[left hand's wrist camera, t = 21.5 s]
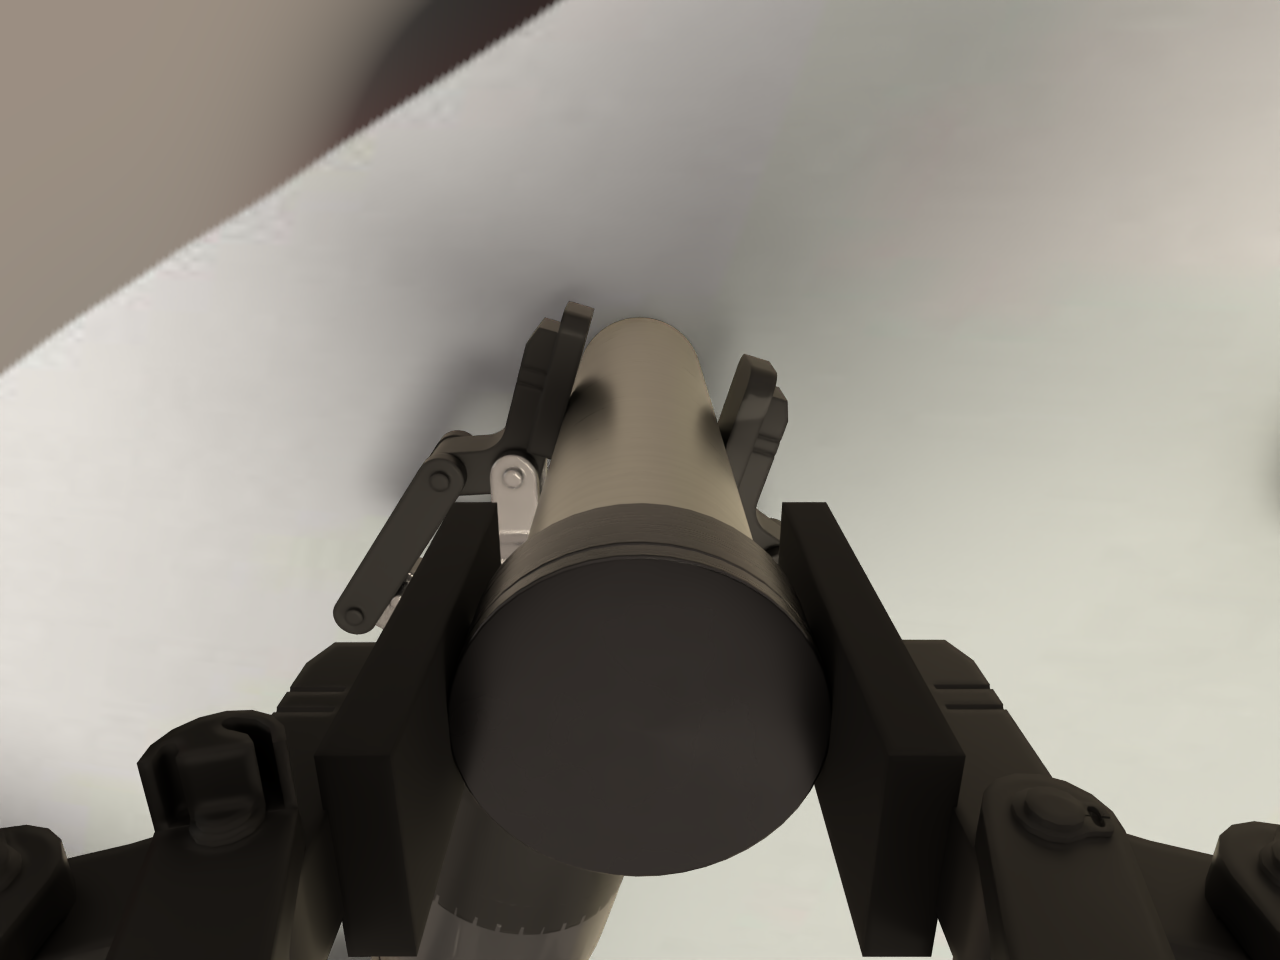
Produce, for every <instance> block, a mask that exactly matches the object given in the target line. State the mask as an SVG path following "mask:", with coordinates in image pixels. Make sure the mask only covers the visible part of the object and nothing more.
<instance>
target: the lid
mask: <svg viewBox="0 0 1280 960" xmlns="http://www.w3.org/2000/svg"><path fill="white" fill-rule="evenodd" d="M447 713H448V725H449V734H450V744H451V751H452V754H453V757H454V760H455V763H456V766H457V769H458V771H459V773H460V775H461V777H462V779H463V781H464V783H465V785H466V787H467V788H468V790H469V791H470V793H471V794H472V796H473V797H474V799H475V800H476V801H477V803H478V804H479V805H480V806H481V808H482V809H483V810H484V811H485V812H486V813H487V814H488V815H489V817H490V818H491V819H492V820H493V821H494V822H496V823H497V824H498V825H499V826H500V827H501V828H502V829H504V830H505V831H506V832H507V833H508V834H510V835H511V836H513V837H514V838H515V839H517V840H518V841H520V842H521V843H523V844H524V845H526V846H527V847H529V848H531V849H533V850H535V851H537V852H539V853H541V854H543V855H545V856H546V857H549V858H551V859H554V860H556V861H559V862H562V863H564V864H567V865H570V866H573V867H577V868H581V869H584V870H588V871H592V872H598V873H604V874H610V875H621V876H661V875H668V874H675V873H683V872H687V871H691V870H695V869H699V868H703V867H707V866H709V865H712V864H715V863H718V862H721V861H723V860H726V859H728V858H730V857H732V856H735V855H737V854H739V853H741V852H743V851H745V850H747V849H749V848H750V847H752V846H753V845H755V844H756V843H758V842H760V841H761V840H763V839H764V838H766V837H767V836H768V835H770V834H771V833H772V832H773V831H775V830H776V829H777V828H778V827H779V826H781V825H782V824H783V823H784V822H785V821H786V820H787V819H788V818H789V817H790V816H791V815H792V814H793V813H794V812H795V811H796V810H797V809H798V807H799V806H800V804H801V803H802V802H803V800H804V799H805V798H806V796H807V795H808V794H809V792H810V791H811V789H812V787H813V785H814V783H815V782H816V780H817V778H818V776H819V774H820V772H821V769H822V767H823V764H824V761H825V759H826V756H827V753H828V748H829V739H830V729H831V718H832V697H831V689H830V685H829V681H828V678H827V674H826V671H825V667H824V665H823V662H822V659H821V657H820V654H819V651H818V648H817V646H816V643H815V640H814V638H813V635H812V632H811V629H810V627H809V624H808V621H807V619H806V616H805V613H804V610H803V608H802V605H801V603H800V601H799V598H798V596H797V594H796V592H795V590H794V587H793V586H792V584H791V583H790V581H789V579H788V578H787V576H786V575H785V573H784V572H783V570H782V569H781V568H780V567H779V565H778V564H777V563H776V562H775V561H774V560H773V559H772V557H771V556H770V555H769V554H768V553H767V552H766V551H765V550H764V549H762V548H761V547H760V546H759V545H758V544H757V543H755V542H754V541H753V540H752V539H751V538H749V537H748V536H746V535H744V534H743V533H741V532H740V531H738V530H737V529H735V528H734V527H732V526H730V525H728V524H726V523H724V522H722V521H720V520H717V519H715V518H713V517H711V516H708V515H705V514H702V513H699V512H696V511H693V510H690V509H685V508H680V507H675V506H670V505H662V504H649V503H632V504H617V505H611V506H605V507H599V508H594V509H591V510H587V511H584V512H581V513H577V514H574V515H571V516H569V517H567V518H565V519H562V520H560V521H558V522H555V523H553V524H551V525H550V526H548V527H546V528H545V529H543V530H541V531H540V532H538V533H536V534H535V535H533V536H532V537H530V538H529V539H528V540H527V541H526V542H524V543H523V544H522V545H521V546H519V547H518V548H517V549H516V550H515V551H514V552H513V553H512V554H511V555H510V556H509V557H508V558H507V559H506V560H505V561H504V562H503V563H502V564H501V566H500V567H499V569H498V570H497V571H496V573H495V574H494V576H493V577H492V578H491V580H490V581H489V583H488V585H487V587H486V589H485V591H484V593H483V595H482V597H481V599H480V601H479V604H478V607H477V609H476V612H475V615H474V618H473V620H472V623H471V626H470V628H469V631H468V634H467V637H466V639H465V642H464V645H463V648H462V650H461V653H460V656H459V658H458V661H457V664H456V667H455V670H454V673H453V676H452V679H451V682H450V687H449V694H448V700H447Z"/></svg>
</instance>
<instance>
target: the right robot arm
mask: <svg viewBox="0 0 1280 960" xmlns="http://www.w3.org/2000/svg"><path fill="white" fill-rule="evenodd" d="M593 312H594V308H591V307H588V306H584V305H581V304H578V303H574V302H571V301H569V302H568V304H567V306H566V308H565V310H564V313H563V316H562V320H561V322H559V321H555V320H552V319H549V318H544V319H543V321H542V322H541V323H540V325H539V326H538V327H537V329H536V330H535V331H534V333H533V334H532V336H531V337H530V339H529V340H528V342H527V344H526V346H525V350H524V354H523V358H522V362H521V367H520V370H519V374H518V378H517V383H516V386H515V390H514V395H513V399H512V403H511V407H510V411H509V415H508V419H507V423H506V427H505V428H504V429H503V430H501V431H499V432H497V433H495V434H491V435H477V436H472V435H471V434H469V433H467V432H465V431H460V430H455V431H451V432H448V433H447V434H445V435H444V436H443V437H442V438H441V440H440V441H439V443H438V444H437V445H436V447H435V449H434V450H433V452H432V453H431V455H430V457H429V458H427V459H426V460H425V462H424V463H423V465H422V466H421V467H420V469H419V470H418V472H417V474H416V475H415V477H414V478H413V480H412V482H411V483H410V485H409V486H408V488H407V490H406V491H405V493H404V495H403V496H402V498H401V499H400V501H399V503H398V504H397V506H396V507H395V509H394V511H393V512H392V514H391V516H390V517H389V519H388V520H387V522H386V524H385V525H384V527H383V528H382V530H381V532H380V533H379V535H378V537H377V538H376V540H375V541H374V543H373V545H372V546H371V548H370V549H369V551H368V553H367V554H366V556H365V558H364V559H363V561H362V562H361V564H360V566H359V567H358V569H357V570H356V572H355V574H354V575H353V577H352V579H351V580H350V582H349V583H348V585H347V587H346V588H345V590H344V591H343V593H342V595H341V596H340V598H339V600H338V601H337V603H336V604H335V606H334V609H333V616H334V620H335V622H336V623H337V625H338V626H339V627H340V628H341V629H343V630H344V631H346V632H348V633H352V634H364V633H367V632H369V631H371V630H372V629H373V628H374V626H375V625H377V626H378V627H380V628H382V629H384V627H385V625H386V624H387V622H388V620H389V618H390V616H391V615H392V613H393V611H394V609H395V607H396V605H397V604H398V602H399V600H400V598H401V596H402V595H403V593H404V591H405V589H406V587H407V586H408V584H409V582H410V580H411V578H412V576H413V575H414V573H415V571H416V569H417V567H418V566H419V564H420V562H421V560H422V558H421V557H420V555H421V554H422V552H423V551H424V549H425V547H426V546H427V544H428V543H429V541H430V540H431V538H432V537H433V535H434V534H435V532H436V530H437V529H438V527H439V526H440V524H441V523H442V521H443V520H444V518H445V516H446V515H447V513H448V511H449V509H450V508H451V506H452V504H453V502H455V501H456V499H457V498H458V496H462V495H480V494H491V502H497V507H498V522H499V537H500V552H501V564H502V563H503V562H504V561H505V560H506V559H507V558H508V557H509V556H510V555H511V554H512V553H513V552H514V551H515V550H516V549H517V548H518V547H519V546H521V545H522V544H523V543H524V542H526V541H527V538H528V535H529V531H530V528H531V525H532V522H533V518H534V515H535V512H536V508H537V505H538V502H539V498H540V495H541V492H542V488H543V485H544V482H545V478H546V475H547V472H548V469H547V458H548V459H552V455H553V452H554V449H555V445H556V442H557V439H558V435H559V432H560V429H561V425H562V422H563V420H564V416H565V413H566V410H567V406H568V403H569V400H570V396H571V393H572V389H573V385H574V382H575V378H576V374H577V371H578V367H579V363H580V360H581V356H582V352H583V349H584V345H585V342H586V338H587V334H588V331H589V327H590V323H591V320H592V316H593ZM776 382H777V373H776V371H775V369H774V368H773V366H772V365H771V363H770V362H769V361H766V360H763V359H760V358H756V357H753V356H750V355H746V354H744V355H743V356H742V357H741V359H740V361H739V364H738V366H737V369H736V372H735V375H734V378H733V381H732V384H731V386H730V389H729V392H728V395H727V398H726V401H725V404H724V407H723V410H722V412H721V415H720V418H719V421H718V426H719V430H720V433H721V436H722V440H723V443H724V446H725V450H726V453H727V456H728V460H729V463H730V466H731V469H732V473H733V476H734V479H735V483H736V486H737V489H738V493H739V496H740V499H741V503H742V506H743V509H744V512H745V516H746V519H747V522H748V526H749V529H750V532H751V536H752V539H753V541H754V542H755V543H757V544H758V545H759V546H760V547H761V548H762V549H764V550H765V551H766V552H767V553H768V554H769V555H770V556H771V557H772V559H773V560H774V561H775V562H776V563H777V564H778V560H779V545H780V530H781V521H780V520H777V519H774V518H768V517H767V516H766V515H764V514H763V513H761V512H760V511H759V510H758V509H756V506H757V502H758V499H759V497H760V494H761V492H762V489H763V486H764V484H765V481H766V478H767V476H768V473H769V470H770V468H771V465H772V462H773V460H774V456H775V455H776V452H777V449H778V447H779V443H780V440H781V439H782V436H783V433H784V431H785V428H786V425H787V423H788V402H787V399H786V398H785V396H784V395H783V393H782V391H781V390H780V388H779V387H777V386H776ZM623 877H624V876H621V875H610V874H604V873H598V872H592V871H588V870H584V869H581V868H577V867H573V866H570V865H567V864H564V863H562V862H559V861H556V860H554V859H551V858H549V857H546V856H545V855H543V854H541V853H539V852H537V851H535V850H533V849H531V848H529V847H527V846H526V845H524V844H523V843H521V842H520V841H518V840H517V839H515V838H514V837H513V836H511V835H510V834H508V833H507V832H506V831H505V830H504V829H502V828H501V827H500V826H499V825H498V824H497V823H496V822H494V821H493V820H492V819H491V818H490V817H489V815H488V814H487V813H486V812H485V811H484V810H483V809H482V808H481V806H480V805H479V804H478V803H477V801H476V800H475V799H474V797H473V796H472V794H471V793H470V791H469V790H468V788H467V787H466V785H465V787H464V791H463V794H462V798H461V801H460V805H459V808H458V812H457V815H456V819H455V823H454V826H453V830H452V833H451V837H450V840H449V844H448V847H447V851H446V855H445V858H444V862H443V865H442V869H441V872H440V876H439V879H438V883H437V887H436V890H435V894H434V897H433V901H432V904H431V908H430V911H429V915H428V919H427V922H426V926H425V929H424V933H423V936H422V940H421V943H420V947H419V951H418V954H417V957H371V960H588V959H589V958H590V956H591V954H592V952H593V951H594V949H595V947H596V945H597V943H598V941H599V938H600V936H601V934H602V931H603V929H604V926H605V924H606V921H607V919H608V916H609V914H610V911H611V908H612V906H613V903H614V901H615V898H616V895H617V893H618V890H619V887H620V884H621V882H622V879H623Z"/></svg>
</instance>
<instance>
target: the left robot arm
mask: <svg viewBox="0 0 1280 960" xmlns="http://www.w3.org/2000/svg"><path fill="white" fill-rule="evenodd" d="M778 565H779V567H780V568H781V569H782V570H783V572H784V573H785V575H786V576H787V578H788V579H789V581H790V583H791V584H792V586H793V587H794V590H795V592H796V594H797V596H798V598H799V601H800V603H801V605H802V608H803V610H804V613H805V616H806V619H807V621H808V624H809V627H810V629H811V632H812V635H813V638H814V640H815V643H816V646H817V648H818V651H819V654H820V657H821V659H822V662H823V665H824V667H825V671H826V674H827V678H828V681H829V685H830V689H831V697H832V718H831V729H830V739H829V748H828V753H827V756H826V759H825V761H824V764H823V767H822V769H821V772H820V774H819V776H818V778H817V780H816V782H815V783H814V785H815V789H816V792H817V796H818V799H819V803H820V807H821V810H822V814H823V817H824V821H825V824H826V828H827V831H828V835H829V839H830V842H831V846H832V849H833V853H834V856H835V860H836V863H837V867H838V871H839V874H840V878H841V881H842V885H843V888H844V892H845V895H846V899H847V903H848V906H849V910H850V913H851V917H852V920H853V924H854V927H855V931H856V935H857V938H858V942H859V945H860V949H861V952H862V956H863V957H931V955H932V949H933V943H934V937H935V932H936V926H937V920H939V922H940V925H941V927H942V930H943V932H944V935H945V937H946V940H947V942H948V945H949V947H950V950H951V953H952V955H953V960H1280V825H1278V824H1271V823H1263V822H1256V821H1253V822H1247V823H1240V824H1234V825H1231V826H1230V827H1229V828H1228V829H1227V830H1226V831H1224V832H1223V833H1222V834H1221V835H1220V836H1219V839H1218V842H1217V845H1216V848H1215V851H1214V855H1210V854H1206V853H1201V852H1197V851H1193V850H1188V849H1184V848H1180V847H1175V846H1171V845H1167V844H1162V843H1158V842H1154V841H1149V840H1146V839H1143V838H1139V837H1136V836H1133V835H1129V834H1126V831H1125V830H1124V828H1123V827H1122V825H1121V824H1120V822H1119V820H1118V819H1117V817H1116V816H1115V814H1114V813H1113V811H1111V810H1110V809H1109V808H1108V807H1107V806H1105V805H1104V804H1103V803H1102V802H1100V801H1099V800H1098V799H1097V798H1096V797H1094V796H1093V795H1092V794H1090V793H1088V792H1086V791H1084V790H1082V789H1080V788H1078V787H1076V786H1074V785H1072V784H1070V783H1068V782H1066V781H1063V780H1059V779H1055V778H1052V776H1051V775H1050V773H1049V772H1048V770H1047V769H1046V767H1045V766H1044V764H1043V763H1042V761H1041V760H1040V758H1039V757H1038V755H1037V754H1036V753H1035V751H1034V750H1033V748H1032V747H1031V745H1030V744H1029V742H1028V741H1027V739H1026V738H1025V736H1024V735H1023V733H1022V732H1021V730H1020V729H1019V727H1018V726H1017V724H1016V723H1015V721H1014V720H1013V718H1012V717H1011V715H1010V714H1009V712H1008V711H1007V710H1004V709H1003V704H1002V702H1001V701H1000V699H999V698H998V696H997V695H996V693H995V692H994V690H993V689H990V684H989V683H988V681H987V680H986V678H985V677H984V675H983V674H982V672H981V671H980V669H979V668H978V666H977V665H976V663H975V662H974V660H972V659H971V658H969V657H968V656H967V655H965V654H964V653H962V652H961V651H960V650H958V649H957V648H956V647H954V646H953V645H951V644H950V643H949V642H947V641H946V640H902V639H901V637H900V635H899V634H898V632H897V630H896V628H895V626H894V625H893V623H892V621H891V619H890V617H889V616H888V614H887V612H886V610H885V608H884V606H883V605H882V603H881V601H880V599H879V597H878V596H877V594H876V592H875V590H874V588H873V587H872V585H871V583H870V581H869V579H868V577H867V576H866V574H865V572H864V570H863V568H862V567H861V565H860V563H859V561H858V559H857V558H856V556H855V554H854V552H853V550H852V548H851V547H850V545H849V543H848V541H847V539H846V538H845V536H844V534H843V532H842V530H841V529H840V527H839V525H838V523H837V521H836V519H835V518H834V516H833V514H832V512H831V510H830V509H829V507H828V505H827V503H826V502H782V515H781V530H780V545H779V560H778ZM500 566H501V552H500V537H499V522H498V507H497V502H453V504H452V506H451V508H450V509H449V511H448V513H447V515H446V517H445V519H444V520H443V522H442V524H441V526H440V528H439V529H438V531H437V533H436V535H435V537H434V538H433V540H432V542H431V544H430V546H429V547H428V549H427V551H426V553H425V555H424V557H423V558H422V560H421V562H420V564H419V566H418V567H417V569H416V571H415V573H414V575H413V576H412V578H411V580H410V582H409V584H408V586H407V587H406V589H405V591H404V593H403V595H402V596H401V598H400V600H399V602H398V604H397V605H396V607H395V609H394V611H393V613H392V615H391V616H390V618H389V620H388V622H387V624H386V625H385V627H384V629H383V631H382V633H381V634H380V636H379V638H378V640H377V642H335V643H333V644H332V645H331V646H329V647H328V648H327V649H325V650H324V651H322V652H321V653H320V654H318V655H317V656H315V657H314V658H313V659H311V660H310V661H309V662H307V663H306V664H305V666H304V667H303V669H302V670H301V672H300V673H299V675H298V676H297V678H296V679H295V681H294V682H293V684H292V685H291V687H290V692H287V693H286V694H285V696H284V697H283V699H282V700H281V702H280V703H279V705H278V706H277V712H273V714H272V715H269V714H266V713H262V712H258V711H254V710H238V711H224V712H220V713H216V714H212V715H208V716H204V717H199V718H197V719H195V720H193V721H190V722H188V723H186V724H184V725H181V726H179V727H177V728H175V729H172V730H171V731H170V732H168V733H167V734H165V735H164V736H163V737H161V738H160V739H159V740H157V741H156V742H154V743H153V744H152V745H150V747H149V748H148V749H147V751H146V752H145V753H144V754H143V756H142V757H141V758H140V760H139V761H138V762H137V766H138V770H139V774H140V777H141V781H142V785H143V788H144V792H145V796H146V800H147V803H148V807H149V811H150V815H151V818H152V822H153V826H154V830H155V833H154V835H153V837H152V838H149V839H145V840H142V841H139V842H135V843H132V844H128V845H124V846H120V847H115V848H111V849H107V850H102V851H98V852H94V853H89V854H85V855H81V856H76V857H72V858H68V859H67V857H66V853H65V850H64V847H63V844H62V841H61V839H60V838H59V837H58V836H57V835H55V834H54V833H53V832H52V831H51V830H50V829H49V828H43V827H36V826H30V825H22V826H14V827H7V828H0V960H327V958H328V955H329V953H330V950H331V948H332V945H333V943H334V940H335V938H336V935H337V933H338V930H339V927H340V925H341V922H342V923H343V929H344V935H345V940H346V946H347V952H348V957H417V954H418V951H419V947H420V943H421V940H422V936H423V933H424V929H425V926H426V922H427V919H428V915H429V911H430V908H431V904H432V901H433V897H434V894H435V890H436V887H437V883H438V879H439V876H440V872H441V869H442V865H443V862H444V858H445V855H446V851H447V847H448V844H449V840H450V837H451V833H452V830H453V826H454V823H455V819H456V815H457V812H458V808H459V805H460V801H461V798H462V794H463V791H464V787H465V783H464V781H463V779H462V777H461V775H460V773H459V771H458V769H457V766H456V763H455V760H454V757H453V754H452V751H451V744H450V734H449V725H448V713H447V700H448V694H449V687H450V682H451V679H452V676H453V673H454V670H455V667H456V664H457V661H458V658H459V656H460V653H461V650H462V648H463V645H464V642H465V639H466V637H467V634H468V631H469V628H470V626H471V623H472V620H473V618H474V615H475V612H476V609H477V607H478V604H479V601H480V599H481V597H482V595H483V593H484V591H485V589H486V587H487V585H488V583H489V581H490V580H491V578H492V577H493V576H494V574H495V573H496V571H497V570H498V569H499V567H500Z"/></svg>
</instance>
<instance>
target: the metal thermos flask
mask: <svg viewBox="0 0 1280 960" xmlns="http://www.w3.org/2000/svg"><path fill="white" fill-rule="evenodd" d="M632 503H649V504H662V505H670V506H675V507H680V508H685V509H690V510H693V511H696V512H699V513H702V514H705V515H708V516H711V517H713V518H715V519H717V520H720V521H722V522H724V523H726V524H728V525H730V526H732V527H734V528H735V529H737V530H738V531H740V532H741V533H743V534H744V535H746V536H748V537H749V538H751V539H752V536H751V532H750V529H749V526H748V522H747V519H746V516H745V512H744V509H743V506H742V503H741V499H740V496H739V493H738V489H737V486H736V483H735V479H734V476H733V473H732V469H731V466H730V463H729V460H728V456H727V453H726V450H725V446H724V443H723V440H722V436H721V433H720V430H719V426H718V423H717V420H716V416H715V413H714V410H713V407H712V403H711V400H710V397H709V393H708V390H707V387H706V383H705V380H704V377H703V373H702V370H701V367H700V364H699V360H698V357H697V355H696V353H695V351H694V349H693V347H692V345H691V344H690V342H689V341H688V340H687V339H686V338H685V337H684V335H683V334H681V333H680V332H679V331H678V330H677V329H675V328H674V327H672V326H670V325H668V324H666V323H664V322H662V321H659V320H656V319H651V318H640V317H638V318H629V319H624V320H621V321H618V322H615V323H613V324H611V325H609V326H607V327H606V328H605V329H603V330H602V331H600V332H599V333H598V334H597V335H596V336H595V337H594V338H593V339H592V341H591V342H590V343H589V345H588V346H587V348H586V350H585V352H584V354H583V356H582V359H581V363H580V366H579V369H578V372H577V376H576V379H575V382H574V386H573V389H572V393H571V396H570V400H569V403H568V406H567V410H566V413H565V416H564V420H563V422H562V425H561V429H560V432H559V435H558V439H557V442H556V445H555V449H554V452H553V455H552V459H551V462H550V465H549V469H548V472H547V475H546V478H545V482H544V485H543V488H542V492H541V495H540V498H539V502H538V505H537V508H536V512H535V515H534V518H533V522H532V525H531V528H530V531H529V535H528V538H527V540H528V539H529V538H530V537H532V536H533V535H535V534H536V533H538V532H540V531H541V530H543V529H545V528H546V527H548V526H550V525H551V524H553V523H555V522H558V521H560V520H562V519H565V518H567V517H569V516H571V515H574V514H577V513H581V512H584V511H587V510H591V509H594V508H599V507H605V506H611V505H617V504H632ZM752 540H753V539H752Z"/></svg>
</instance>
